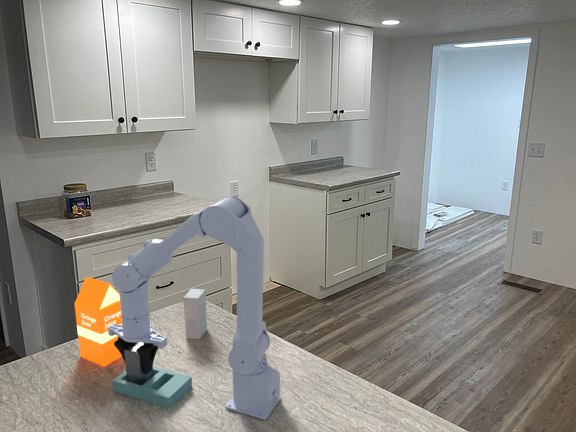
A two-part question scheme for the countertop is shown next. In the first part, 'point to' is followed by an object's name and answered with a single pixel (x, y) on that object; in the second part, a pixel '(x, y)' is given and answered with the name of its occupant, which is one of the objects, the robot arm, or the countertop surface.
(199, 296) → the skincare box
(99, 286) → the orange juice
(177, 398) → the holder
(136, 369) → the peg
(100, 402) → the countertop surface
